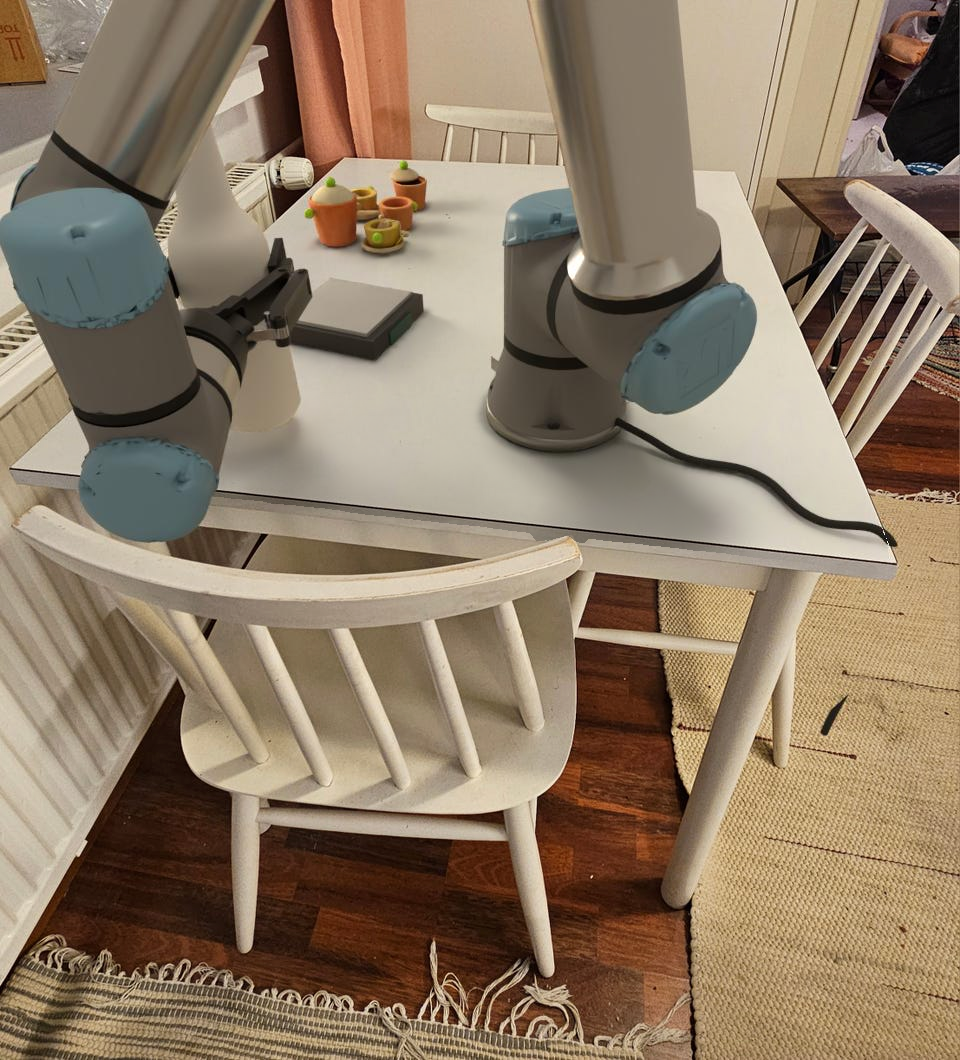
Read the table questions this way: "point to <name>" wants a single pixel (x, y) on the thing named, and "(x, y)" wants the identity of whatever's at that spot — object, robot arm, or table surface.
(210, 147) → the white bottle
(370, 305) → the scale
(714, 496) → the table surface
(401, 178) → the toy tea set
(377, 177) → the table surface
